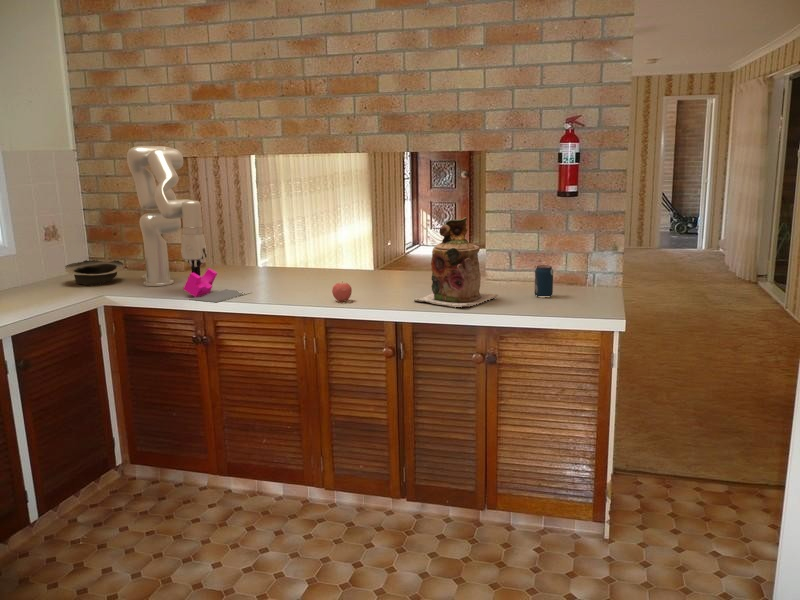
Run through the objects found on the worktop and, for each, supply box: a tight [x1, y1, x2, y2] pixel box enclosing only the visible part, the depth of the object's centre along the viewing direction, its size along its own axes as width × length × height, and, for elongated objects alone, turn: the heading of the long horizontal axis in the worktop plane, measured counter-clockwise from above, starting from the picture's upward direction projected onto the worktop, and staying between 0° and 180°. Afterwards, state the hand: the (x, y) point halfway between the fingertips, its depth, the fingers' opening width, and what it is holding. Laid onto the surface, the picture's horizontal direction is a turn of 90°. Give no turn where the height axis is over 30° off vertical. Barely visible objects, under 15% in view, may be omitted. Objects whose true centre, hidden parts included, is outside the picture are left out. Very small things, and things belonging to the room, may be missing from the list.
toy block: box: [183, 268, 218, 298], centre depth 286 cm, size 15×6×8 cm, turn 165°
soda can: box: [534, 264, 554, 297], centre depth 272 cm, size 7×7×12 cm
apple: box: [331, 280, 352, 303], centre depth 269 cm, size 7×7×8 cm
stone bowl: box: [64, 259, 124, 286], centre depth 317 cm, size 25×25×9 cm
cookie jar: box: [413, 217, 499, 308], centre depth 265 cm, size 25×25×32 cm
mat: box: [188, 288, 245, 303], centre depth 283 cm, size 14×22×1 cm, turn 153°
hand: (196, 276), depth 287 cm, fingers closed
